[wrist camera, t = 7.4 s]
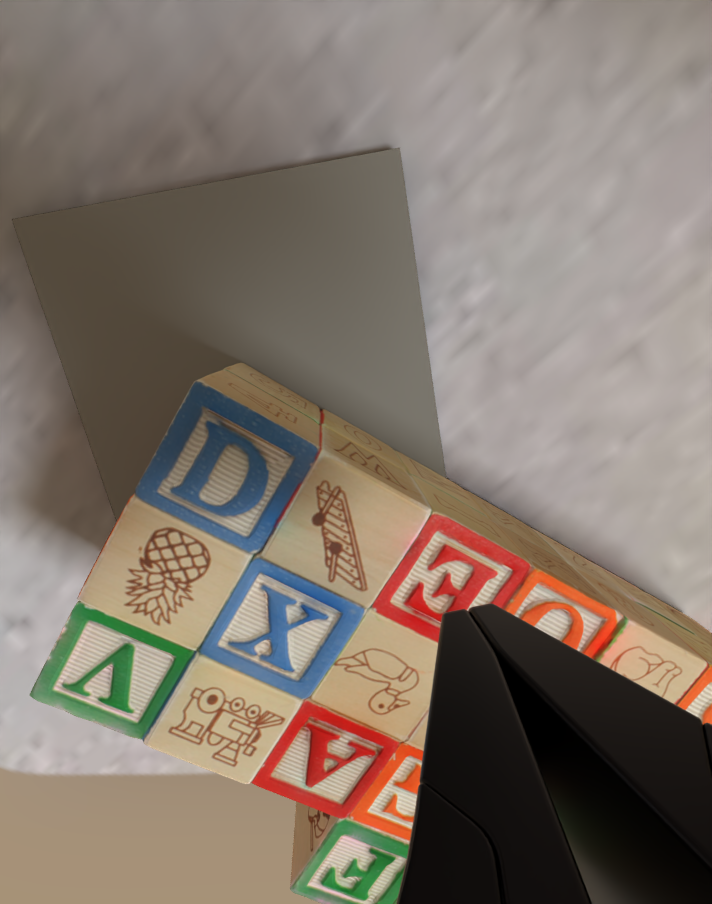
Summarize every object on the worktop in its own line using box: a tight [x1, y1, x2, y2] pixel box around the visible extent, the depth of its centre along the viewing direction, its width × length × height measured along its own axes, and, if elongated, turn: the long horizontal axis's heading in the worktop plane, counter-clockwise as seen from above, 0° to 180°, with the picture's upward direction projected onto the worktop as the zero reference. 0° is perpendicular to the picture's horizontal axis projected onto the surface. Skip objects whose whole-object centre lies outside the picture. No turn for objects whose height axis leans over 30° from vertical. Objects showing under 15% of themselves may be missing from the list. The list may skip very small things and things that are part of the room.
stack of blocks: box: [30, 363, 712, 904], centre depth 16 cm, size 21×6×12 cm
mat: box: [12, 148, 446, 521], centre depth 17 cm, size 12×18×1 cm, turn 10°
